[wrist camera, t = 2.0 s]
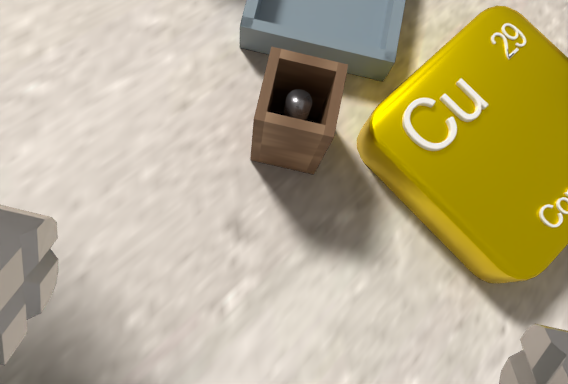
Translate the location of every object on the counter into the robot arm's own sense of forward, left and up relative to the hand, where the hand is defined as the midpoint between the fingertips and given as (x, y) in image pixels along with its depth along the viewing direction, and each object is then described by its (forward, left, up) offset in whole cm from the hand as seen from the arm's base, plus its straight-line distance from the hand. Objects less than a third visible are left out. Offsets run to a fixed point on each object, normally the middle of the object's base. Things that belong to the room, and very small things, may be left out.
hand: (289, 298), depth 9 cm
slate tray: (0, +23, -26) cm, 35 cm away
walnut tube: (0, +12, -26) cm, 29 cm away
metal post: (0, +12, -26) cm, 29 cm away
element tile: (+14, +15, -27) cm, 34 cm away
